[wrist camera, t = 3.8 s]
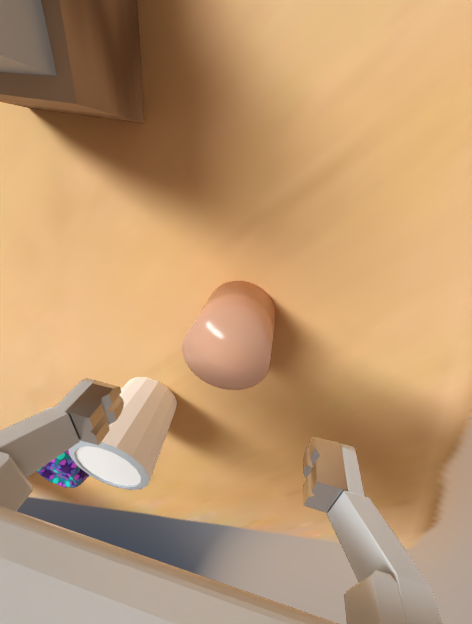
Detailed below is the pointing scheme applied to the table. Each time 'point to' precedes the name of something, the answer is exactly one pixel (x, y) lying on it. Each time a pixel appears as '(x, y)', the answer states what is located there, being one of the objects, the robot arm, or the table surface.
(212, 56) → the table surface
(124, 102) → the tower base
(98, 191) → the table surface
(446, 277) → the table surface
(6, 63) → the tower mid
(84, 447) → the shot glass
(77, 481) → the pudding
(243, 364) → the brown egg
